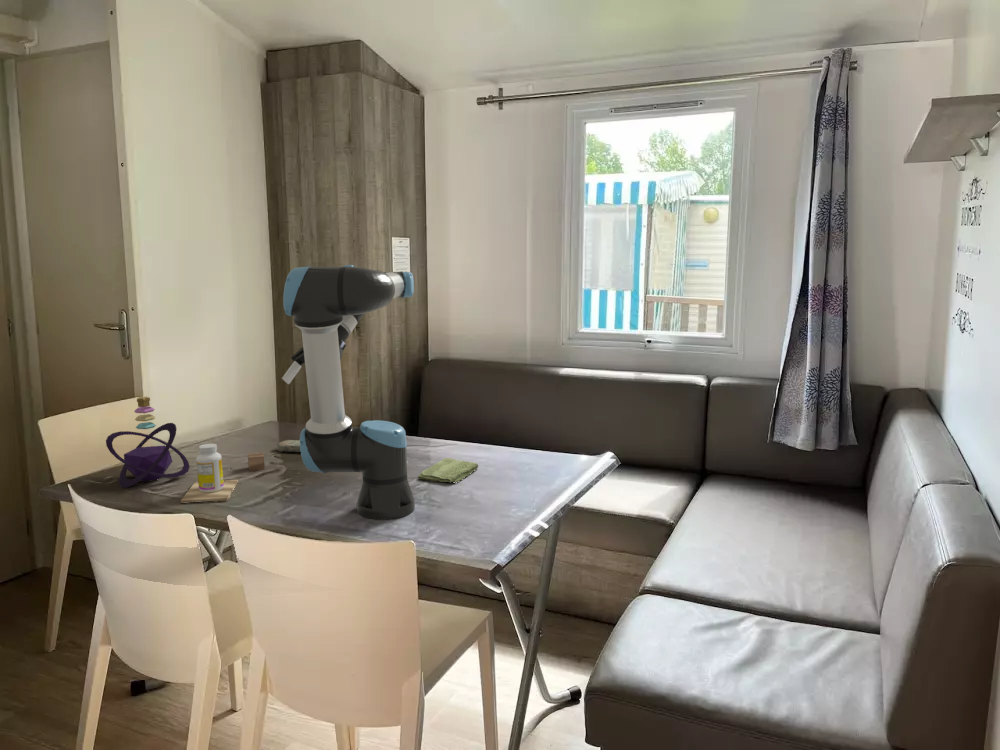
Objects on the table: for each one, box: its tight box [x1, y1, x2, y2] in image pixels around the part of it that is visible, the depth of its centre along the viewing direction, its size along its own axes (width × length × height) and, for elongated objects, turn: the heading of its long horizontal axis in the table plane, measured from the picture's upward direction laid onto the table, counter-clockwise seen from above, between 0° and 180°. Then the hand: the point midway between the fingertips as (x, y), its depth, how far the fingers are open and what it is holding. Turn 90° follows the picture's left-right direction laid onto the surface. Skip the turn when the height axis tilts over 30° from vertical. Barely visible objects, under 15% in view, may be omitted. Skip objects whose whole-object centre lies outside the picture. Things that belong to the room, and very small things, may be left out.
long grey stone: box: [276, 439, 300, 453], centre depth 251 cm, size 35×5×10 cm
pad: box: [180, 479, 239, 504], centre depth 209 cm, size 16×12×1 cm
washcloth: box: [417, 457, 479, 483], centre depth 224 cm, size 13×18×3 cm
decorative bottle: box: [105, 396, 190, 489], centre depth 220 cm, size 22×21×25 cm
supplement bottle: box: [195, 443, 224, 493], centre depth 207 cm, size 7×7×13 cm
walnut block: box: [247, 452, 266, 472], centre depth 231 cm, size 4×4×4 cm
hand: (298, 384), depth 212 cm, fingers open, 13 cm apart
